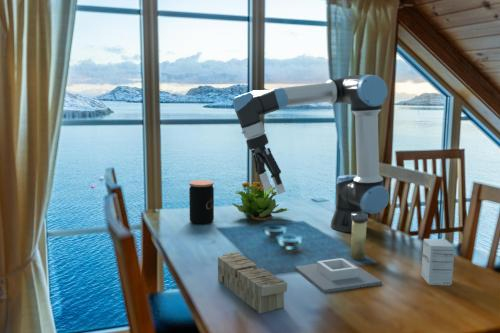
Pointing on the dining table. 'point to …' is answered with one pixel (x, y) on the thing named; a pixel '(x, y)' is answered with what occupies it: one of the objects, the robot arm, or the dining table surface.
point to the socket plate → (337, 275)
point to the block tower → (251, 282)
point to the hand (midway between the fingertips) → (274, 191)
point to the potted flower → (258, 202)
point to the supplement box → (437, 261)
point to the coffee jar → (201, 202)
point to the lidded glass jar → (358, 235)
